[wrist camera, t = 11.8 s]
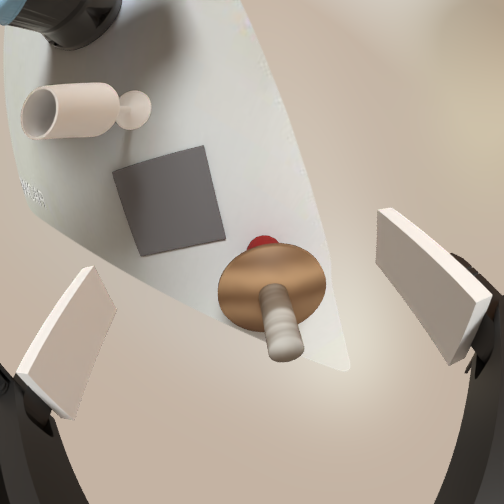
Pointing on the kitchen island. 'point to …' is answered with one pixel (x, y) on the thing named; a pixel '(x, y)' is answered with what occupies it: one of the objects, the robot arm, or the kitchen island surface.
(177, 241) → the mat
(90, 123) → the champagne flute
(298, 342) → the lid
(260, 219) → the kitchen island surface
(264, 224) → the kitchen island surface
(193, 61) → the kitchen island surface
